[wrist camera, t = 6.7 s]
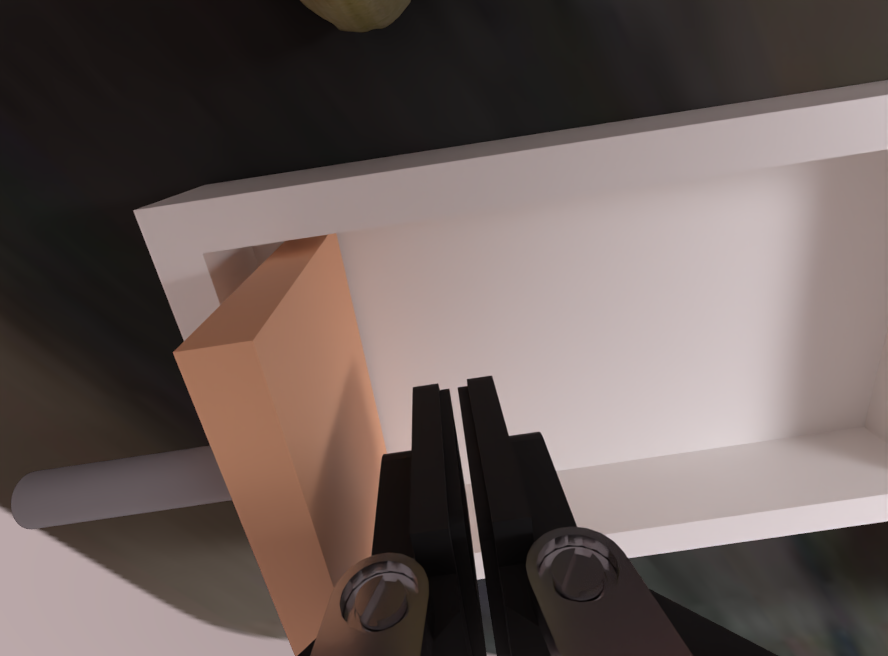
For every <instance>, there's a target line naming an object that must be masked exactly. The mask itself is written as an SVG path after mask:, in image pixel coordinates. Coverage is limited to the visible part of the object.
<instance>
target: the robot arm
mask: <svg viewBox="0 0 888 656" xmlns="http://www.w3.org/2000/svg"><path fill="white" fill-rule="evenodd" d="M458 394H459V402H460V409H461V416H462V423H463V430H464V437H465V444H466V451H467V458H468V465H469V472H470V479H471V486H472V493H473V500H474V507H475V514H476V521H477V528H478V534H479V541H480V548H481V554H482V561H483V567H484V574H485V581H486V587H487V594H488V600H489V607H490V613H491V620H492V626H493V633H494V640H495V646H496V653H497V656H778V655H776V654H774V653H772V652H770V651H768V650H766V649H764V648H762V647H760V646H758V645H756V644H754V643H753V642H751V641H749V640H747V639H745V638H743V637H741V636H739V635H737V634H735V633H733V632H731V631H729V630H727V629H726V628H724V627H722V626H720V625H718V624H716V623H714V622H712V621H710V620H708V619H706V618H704V617H702V616H700V615H698V614H697V613H695V612H693V611H691V610H689V609H687V608H685V607H683V606H681V605H679V604H677V603H675V602H673V601H671V600H670V599H668V598H666V597H664V596H662V595H660V594H658V593H656V592H654V591H652V590H650V589H648V587H647V586H646V584H645V583H644V581H643V580H642V578H641V577H640V575H639V574H638V572H637V571H636V569H635V568H634V566H633V565H632V563H631V562H630V560H629V559H628V557H627V556H626V554H625V553H624V552H623V551H622V549H621V548H620V547H619V546H618V545H617V544H616V543H615V542H614V541H613V540H611V539H610V538H608V537H607V536H605V535H603V534H602V533H600V532H597V531H594V530H591V529H588V528H582V527H577V525H576V522H575V520H574V517H573V514H572V512H571V509H570V507H569V504H568V501H567V499H566V496H565V493H564V491H563V488H562V486H561V483H560V480H559V478H558V475H557V472H556V470H555V467H554V465H553V462H552V459H551V457H550V454H549V451H548V449H547V446H546V444H545V441H544V438H543V436H542V434H541V433H540V432H532V433H526V434H519V435H512V436H509V434H508V431H507V427H506V423H505V420H504V416H503V413H502V409H501V405H500V402H499V398H498V395H497V391H496V388H495V384H494V380H493V377H492V375H491V376H484V377H478V378H471V379H467V386H463V387H458ZM298 656H486V647H485V639H484V631H483V623H482V615H481V608H480V600H479V592H478V584H477V576H476V568H475V560H474V552H473V544H472V536H471V528H470V520H469V512H468V504H467V497H466V490H465V484H464V477H463V471H462V465H461V458H460V452H459V446H458V440H457V433H456V427H455V421H454V414H453V408H452V402H451V395H450V390H449V389H443V390H440V388H439V384H438V383H437V384H430V385H423V386H417V387H413V392H412V444H411V450H409V451H402V452H395V453H389V454H383V456H382V460H381V468H380V477H379V487H378V496H377V506H376V515H375V525H374V535H373V544H372V554H371V556H370V557H368V558H365V559H363V560H361V561H359V562H358V563H356V564H355V565H354V566H352V567H351V568H349V569H348V570H347V571H346V572H345V573H344V575H343V576H342V577H341V578H340V579H339V580H338V582H337V584H336V586H335V588H334V589H333V591H332V593H331V596H330V599H329V602H328V605H327V608H326V611H325V614H324V617H323V620H322V622H321V625H320V628H319V631H318V634H317V637H316V639H315V640H313V641H312V642H311V643H310V644H309V645H308V646H307V647H306V648H305V649H304V650H303V651H302V652H301V653H300V654H299V655H298Z"/></svg>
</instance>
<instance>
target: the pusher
mask: <svg viewBox="0 0 888 656" xmlns="http://www.w3.org/2000/svg"><path fill="white" fill-rule="evenodd" d="M173 354H174V357H175V359H176V362H177V364H178V367H179V369H180V372H181V374H182V377H183V379H184V382H185V384H186V387H187V389H188V392H189V394H190V396H191V399H192V401H193V404H194V406H195V409H196V411H197V414H198V416H199V419H200V421H201V424H202V426H203V429H204V431H205V434H206V436H207V439H208V441H209V444H210V446H204V447H197V448H190V449H183V450H177V451H170V452H163V453H156V454H149V455H143V456H136V457H129V458H122V459H115V460H108V461H102V462H95V463H88V464H81V465H74V466H68V467H61V468H54V469H47V470H40V471H34V472H31V473H28V474H27V475H25V476H24V477H23V478H22V479H21V480H20V481H19V482H18V484H17V485H16V487H15V489H14V491H13V494H12V499H11V510H12V514H13V517H14V519H15V520H16V522H17V523H18V524H19V525H20V526H21V527H24V528H26V529H37V528H44V527H51V526H57V525H64V524H71V523H78V522H85V521H92V520H99V519H106V518H113V517H119V516H126V515H133V514H140V513H147V512H154V511H161V510H168V509H174V508H181V507H188V506H195V505H202V504H209V503H216V502H223V501H230V500H232V501H233V503H234V506H235V508H236V511H237V513H238V516H239V518H240V521H241V523H242V526H243V528H244V531H245V533H246V535H247V538H248V540H249V543H250V545H251V548H252V550H253V553H254V555H255V558H256V560H257V563H258V565H259V568H260V570H261V573H262V575H263V578H264V580H265V583H266V585H267V588H268V590H269V593H270V595H271V598H272V600H273V602H274V605H275V607H276V610H277V612H278V615H279V617H280V620H281V622H282V625H283V627H284V630H285V632H286V635H287V637H288V640H289V642H290V645H291V647H292V650H293V652H294V654H295V656H298V655H299V654H300V653H301V652H302V651H303V650H304V649H305V648H306V647H307V646H308V645H309V644H310V643H311V642H312V641H313V640H315V639H316V637H317V634H318V631H319V628H320V625H321V622H322V620H323V617H324V614H325V611H326V608H327V605H328V602H329V599H330V596H331V593H332V591H333V589H334V588H335V586H336V584H337V582H338V580H339V579H340V578H341V577H342V576H343V575H344V573H345V572H346V571H347V570H348V569H349V568H351V567H352V566H354V565H355V564H356V563H358V562H359V561H361V560H363V559H365V558H368V557H370V556H371V554H372V544H373V535H374V525H375V515H376V506H377V496H378V487H379V477H380V468H381V460H382V456H383V454H387V451H386V446H385V442H384V438H383V433H382V429H381V425H380V420H379V416H378V412H377V407H376V403H375V399H374V394H373V390H372V386H371V381H370V377H369V373H368V368H367V364H366V360H365V355H364V351H363V347H362V342H361V338H360V334H359V329H358V325H357V321H356V316H355V312H354V308H353V303H352V299H351V295H350V290H349V286H348V282H347V277H346V273H345V269H344V264H343V260H342V256H341V251H340V247H339V243H338V238H337V234H336V233H334V234H328V235H321V236H314V237H308V238H301V239H295V240H288V241H284V242H283V243H282V244H281V245H280V246H279V247H278V248H277V249H276V250H275V251H274V252H273V253H272V254H271V255H270V256H269V257H268V258H267V259H266V260H265V261H264V262H263V263H262V264H261V265H260V266H259V267H258V268H257V269H256V270H255V271H254V272H253V273H252V274H251V275H250V276H249V277H248V278H247V279H246V280H245V281H244V282H243V283H242V284H241V285H240V286H239V287H238V288H237V289H236V290H235V291H234V292H233V293H232V294H231V295H230V296H229V297H228V298H227V299H226V300H225V301H224V302H223V303H222V304H221V305H220V306H219V307H218V308H217V309H216V310H215V311H214V312H213V313H212V314H211V315H210V316H209V317H208V318H207V319H206V320H205V321H204V322H203V323H202V324H201V325H200V326H199V327H198V328H197V329H196V330H195V331H194V332H193V333H192V334H191V335H190V336H189V337H188V338H187V339H186V340H185V341H184V342H183V343H182V344H181V345H180V346H179V347H178V348H177V349H176V350H175V351H174V352H173Z"/></svg>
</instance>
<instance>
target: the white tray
mask: <svg viewBox="0 0 888 656" xmlns="http://www.w3.org/2000/svg"><path fill="white" fill-rule="evenodd" d="M133 211H134V214H135V217H136V219H137V222H138V224H139V227H140V229H141V232H142V235H143V237H144V240H145V242H146V245H147V247H148V250H149V253H150V255H151V258H152V260H153V263H154V265H155V268H156V271H157V273H158V276H159V278H160V281H161V283H162V286H163V289H164V291H165V294H166V296H167V299H168V301H169V304H170V307H171V309H172V312H173V314H174V317H175V319H176V322H177V325H178V327H179V330H180V332H181V335H182V337H183V340H184V341H185V340H186V339H187V338H188V337H189V336H190V335H191V334H192V333H193V332H194V331H195V330H196V329H197V328H198V327H199V326H200V325H201V324H202V323H203V322H204V321H205V320H206V319H207V318H208V317H209V316H210V315H211V314H212V313H213V312H214V311H215V310H216V309H217V308H218V307H219V306H220V305H221V304H222V303H223V302H224V301H225V300H226V299H227V298H228V297H229V296H230V295H231V294H232V293H233V292H234V291H235V290H236V289H237V288H238V287H239V286H240V285H241V284H242V283H243V282H244V281H245V280H246V279H247V278H248V277H249V276H250V275H251V274H252V273H253V272H254V271H255V270H256V269H257V268H258V267H259V266H260V265H261V264H262V263H263V262H264V261H265V260H266V259H267V258H268V257H269V256H270V255H271V254H272V253H273V252H274V251H275V250H276V249H277V248H278V247H279V246H280V245H281V244H282V243H283V242H284V241H288V240H295V239H301V238H308V237H314V236H321V235H328V234H334V233H336V234H337V238H338V243H339V247H340V251H341V256H342V260H343V264H344V269H345V273H346V277H347V282H348V286H349V290H350V295H351V299H352V303H353V308H354V312H355V316H356V321H357V325H358V329H359V334H360V338H361V342H362V347H363V351H364V355H365V360H366V364H367V368H368V373H369V377H370V381H371V386H372V390H373V394H374V399H375V403H376V407H377V412H378V416H379V420H380V425H381V429H382V433H383V438H384V442H385V446H386V451H387V454H389V453H395V452H402V451H409V450H411V444H412V392H413V387H417V386H423V385H430V384H437V383H438V384H439V388H440V390H443V389H449V390H450V395H451V402H452V408H453V414H454V421H455V427H456V433H457V440H458V446H459V452H460V458H461V465H462V471H463V477H464V484H465V490H466V497H467V504H468V512H469V520H470V528H471V536H472V544H473V552H474V560H475V568H476V576H477V580H478V579H485V574H484V567H483V561H482V554H481V548H480V541H479V534H478V528H477V521H476V514H475V507H474V500H473V493H472V486H471V479H470V472H469V465H468V458H467V451H466V444H465V437H464V430H463V423H462V416H461V409H460V402H459V394H458V387H463V386H467V379H471V378H478V377H484V376H491V375H492V377H493V380H494V384H495V388H496V391H497V395H498V398H499V402H500V405H501V409H502V413H503V416H504V420H505V423H506V427H507V431H508V434H509V436H512V435H519V434H526V433H532V432H540V433H541V434H542V436H543V438H544V441H545V444H546V446H547V449H548V451H549V454H550V457H551V459H552V462H553V465H554V467H555V470H556V472H557V475H558V478H559V480H560V483H561V486H562V488H563V491H564V493H565V496H566V499H567V501H568V504H569V507H570V509H571V512H572V514H573V517H574V520H575V522H576V525H577V527H582V528H588V529H591V530H594V531H597V532H600V533H602V534H603V535H605V536H607V537H608V538H610V539H611V540H613V541H614V542H615V543H616V544H617V545H618V546H619V547H620V548H621V549H622V551H623V552H624V553H625V554H626V556H627V557H628V558H633V557H640V556H647V555H654V554H661V553H668V552H675V551H682V550H689V549H696V548H703V547H710V546H717V545H724V544H731V543H738V542H745V541H752V540H759V539H766V538H773V537H780V536H787V535H794V534H801V533H809V532H816V531H823V530H830V529H837V528H844V527H851V526H858V525H865V524H872V523H879V522H886V521H888V80H884V81H877V82H871V83H864V84H858V85H851V86H845V87H838V88H832V89H825V90H819V91H812V92H806V93H799V94H793V95H786V96H780V97H773V98H767V99H760V100H754V101H747V102H741V103H734V104H728V105H721V106H715V107H708V108H702V109H695V110H689V111H682V112H676V113H669V114H663V115H656V116H650V117H643V118H637V119H630V120H624V121H617V122H611V123H604V124H598V125H591V126H585V127H578V128H571V129H565V130H558V131H552V132H545V133H539V134H532V135H526V136H519V137H513V138H506V139H500V140H493V141H487V142H480V143H474V144H467V145H461V146H454V147H448V148H441V149H435V150H428V151H422V152H415V153H409V154H402V155H396V156H389V157H383V158H376V159H370V160H363V161H357V162H350V163H344V164H337V165H331V166H324V167H318V168H311V169H305V170H298V171H292V172H285V173H279V174H272V175H266V176H259V177H253V178H246V179H240V180H233V181H227V182H220V183H214V184H207V185H203V186H200V187H197V188H195V189H192V190H189V191H186V192H183V193H181V194H178V195H175V196H172V197H169V198H167V199H164V200H161V201H158V202H155V203H153V204H150V205H147V206H144V207H141V208H139V209H136V210H133Z"/></svg>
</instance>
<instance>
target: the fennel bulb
mask: <svg viewBox="0 0 888 656" xmlns="http://www.w3.org/2000/svg"><path fill="white" fill-rule="evenodd" d="M300 1H301V2H302V3H303V4H304V5H305V6H306V7H307V8H309V9H310V10H312V11H313V12H314V13H315V14H317V15H319V16H320V17H322V18H323V19H325V20H327V21H329V22H331V23H333V24H334V25H335V26H336V27H337V28H338V29H339V30H341V31H354V32H368V31H370V30H372V29H381V28H385V27H387V26H388V25H390V24H391V23H393V22H394V21H395V20H396V19H397V18H398V17H399V16H400V15H401V14H402V12H403V11H404V10H405V9H406V7H407V6H408V5H409V3H410V2H411V0H300Z"/></svg>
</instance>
